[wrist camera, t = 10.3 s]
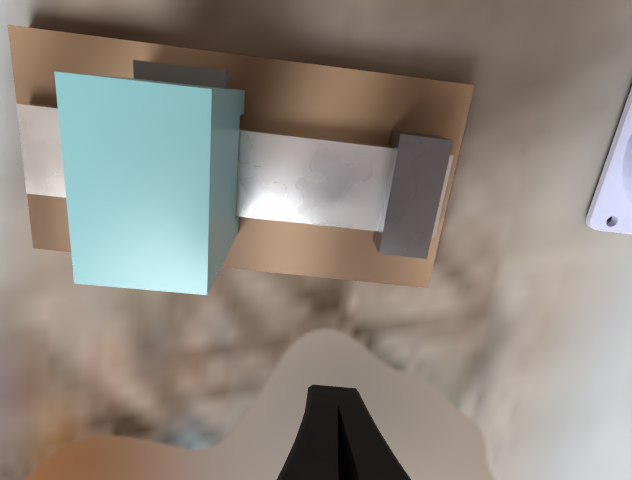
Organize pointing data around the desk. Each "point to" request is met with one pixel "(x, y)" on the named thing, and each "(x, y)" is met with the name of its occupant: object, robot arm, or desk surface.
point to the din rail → (301, 179)
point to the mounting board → (273, 116)
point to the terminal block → (150, 175)
